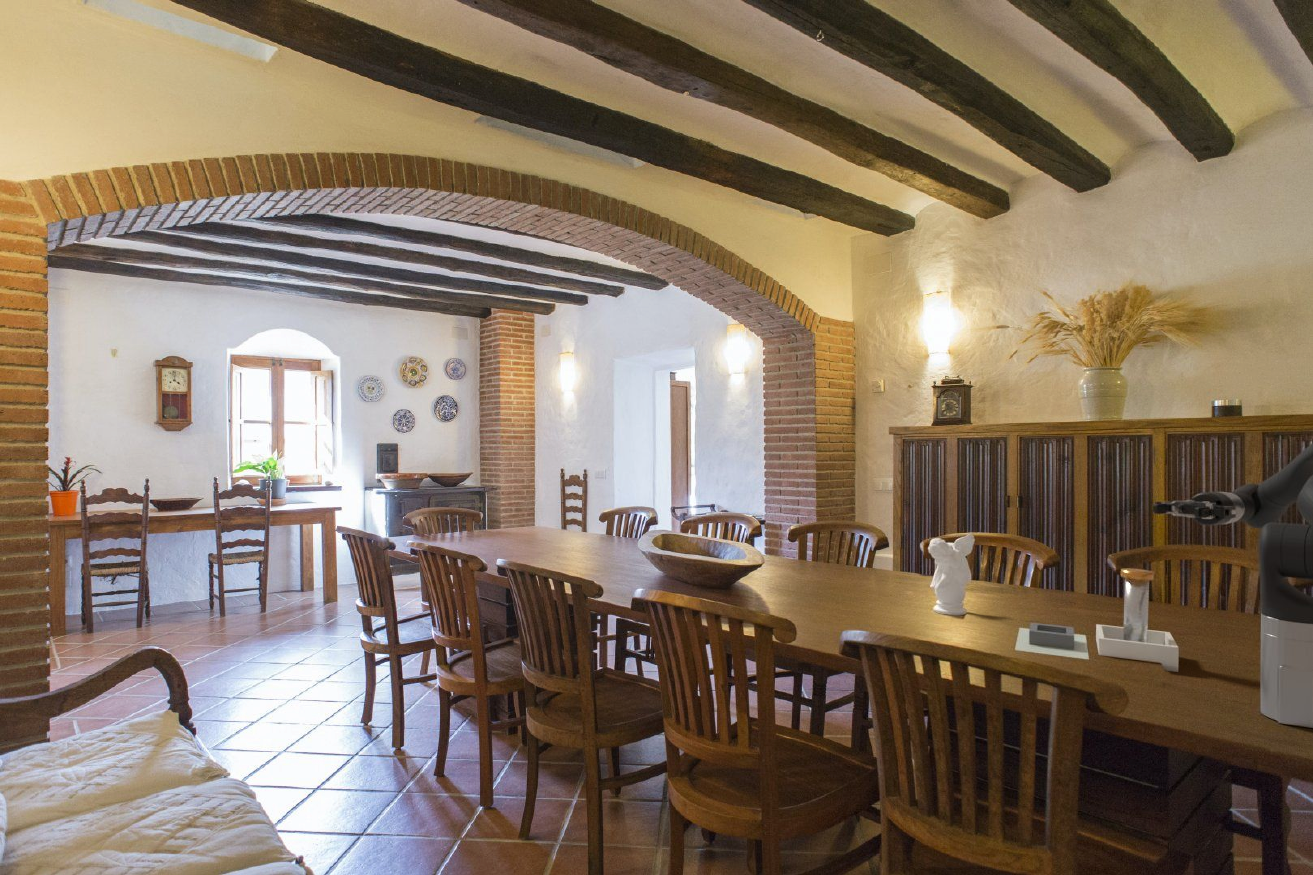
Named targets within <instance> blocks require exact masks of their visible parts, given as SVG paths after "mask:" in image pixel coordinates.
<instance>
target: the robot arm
mask: <svg viewBox="0 0 1313 875" xmlns="http://www.w3.org/2000/svg"><path fill="white" fill-rule="evenodd" d="M1295 503H1296V504H1297V508H1298V511H1299V513H1300V515H1301V517H1302V518H1303V519H1304V520H1305V521H1306V522H1307V523H1308V524H1301V523H1291V522H1290V523H1289V522H1278V521H1279V520H1280V519H1281V518H1282V517H1283V515H1284V514H1285V513H1286V511H1287V510H1288V508H1289V507H1290V506H1291V505H1293V504H1295ZM1152 512H1153V513H1154V514H1155V515H1167V514H1169V515H1172V516H1174V517H1186V518H1191V519H1192V520H1194V521H1195V522H1196V523H1198V524H1200V525H1203V526H1217V525H1228V524H1231V523H1240V522H1245V523H1246V525H1247V526H1249V527H1251V528H1254V529H1261V530H1260V532H1259V537H1258V562H1259V563H1258V566H1259V582H1260V587H1259V588H1260V590H1259V594H1260V595H1259V596H1260V687H1259V688H1260V714H1262V715H1264V716H1265V717H1268V718H1270V719H1272V720H1275V721H1277V722H1278V723H1279V724H1283V725H1290V726H1291V725H1292V726H1297V727H1304V728H1310V729H1311V728H1312V729H1313V596H1311V595H1309V594H1306V593H1304V592H1303V591H1300V590H1299V589H1298V588H1296V587H1295V586H1294V585H1292V583H1291V582H1290V581H1289V578H1292V579H1293V578H1294V579H1302V580H1309V581H1310V580H1312V581H1313V442H1311V444H1309V445H1308V446H1307V447H1306V448H1305V449H1303V450H1302V451H1301V452H1300V453H1299V454H1298V455H1297V456H1296V457H1294V458H1293V460H1291V461H1290V462H1289V463H1288V464H1287V465H1285V467H1283V468H1282V469H1281V470H1279V471H1278V472H1276V473H1274V474H1273V475H1270V477H1268V478H1267V479H1264V480H1263V481H1262V482H1260V484H1257V483H1247V484H1243V485H1242V486H1240V487H1236V489H1234V490H1233V491H1229V492H1227V491H1226V492H1225V491H1208V492H1206V491H1204V492H1200V493H1196V494H1195V495H1194V496H1192V497H1191V499H1186V500H1170V501H1155V502H1154V504H1153V505H1152ZM1179 512H1180V513H1179Z"/></svg>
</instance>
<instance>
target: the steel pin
mask: <svg viewBox="0 0 1313 875" xmlns="http://www.w3.org/2000/svg"><path fill="white" fill-rule="evenodd" d="M1154 575H1155V574H1154V571H1152V570H1147V569H1142V568H1141V569H1140V568H1130V567H1128V568H1120V577H1121V578H1124V598H1123V599H1124V600H1123V601H1124V602H1123V627H1124V633H1123V640H1126V641H1135V642H1144V643H1147V636H1148V630H1149V629H1148V628H1149V626H1148V625H1149V621H1148V620H1149V597H1150V596H1149V592H1150V590H1149V588H1150V581H1153V580H1154V579H1155V578H1154V577H1155V576H1154Z"/></svg>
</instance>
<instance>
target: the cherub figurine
mask: <svg viewBox="0 0 1313 875" xmlns="http://www.w3.org/2000/svg"><path fill="white" fill-rule="evenodd" d="M975 541H976V539H975V535H973V533H972V532H970V533H968V534H967V535H965V536H962V537H959V538H957V539H955V541H954V542H946V540H945V539H942V538H941V537H935V538H932V539H931V540H929V545H928V547H927V550H928V554H930V555H931V557H932V559H934V564H935V565H936V569H935V571H934V574H933V578H932V581H931V582H930V585H929V586H930V588H931V589H934V592H935V597H936V599H937V600H936V601H935V603H936V605H934V606H933V607H932V608H933V611H934V612H935V613H937V614H941V615H950V616H962V615H966V614H967V612H968V611H967V609H966V608H965V607H964V606H965V603H964V600H965V598H966V592H967V591H966V587H965V585H966V586H967V585H968V584H970V583H971V580H972V572H971V569H970V565H969V563H968V562H969V560H968V559H967V558H966V557H967V556H968V555H970V554H971V553H972V552H973V548H974V544H975Z"/></svg>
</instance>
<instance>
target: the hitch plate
mask: <svg viewBox="0 0 1313 875" xmlns="http://www.w3.org/2000/svg"><path fill="white" fill-rule="evenodd" d="M1088 649H1089V648H1088V643H1087V635H1085V634H1079V633H1075V629H1074V627H1073V626H1067V625H1066V626H1064V625H1057V624H1046V623H1038V622H1030V624H1029V628H1025V627H1019V628H1018V634H1017V638H1016V644H1015V648H1014V651H1018V652H1020V651H1021V652H1026V653H1027V652H1028V653H1035V654H1040V655H1041V654H1043V655H1049V656H1058V657H1065V658H1073V659H1083V660H1090V658H1089V657H1090V656H1089V650H1088Z"/></svg>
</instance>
